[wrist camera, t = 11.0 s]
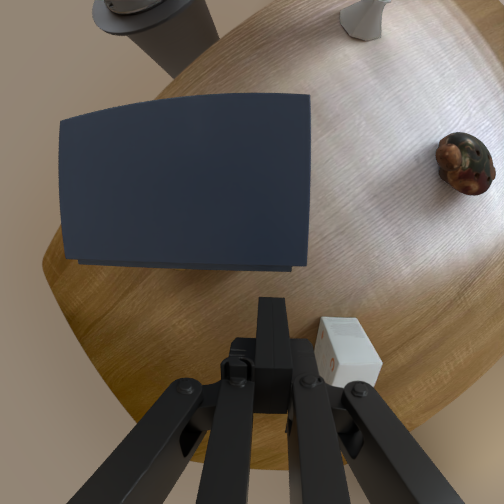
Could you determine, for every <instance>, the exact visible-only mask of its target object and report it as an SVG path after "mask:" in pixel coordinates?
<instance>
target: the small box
mask: <svg viewBox="0 0 504 504" xmlns="http://www.w3.org/2000/svg"><path fill="white" fill-rule="evenodd" d="M314 354H315V358H316V362H317V367H318V371H319V375H320V376H321V377H322V378H323V379H324V381H325V383H327V384H329V385H332V386H335V387H341V388H344V386H345V385H346V384H347V383H349V382H352V381H364V382H366V383H369V384H370V385H371V386H372V387H373V388H374V385H375V383H376V380H377V378H378V375H379V372H380V370H381V367H382V364H383V363H382V361H381V359H380V357H379V356H378V354H377V352H376V350H375V349H374V347H373V345H372V343H371V342H370V340H369V338H368V337H367V335H366V333H365V331H364V330H363V328H362V326H361V325H360V323H359V321H358V320H357V318H342V317H321V319H320V324H319V329H318V334H317V339H316V344H315V349H314Z"/></svg>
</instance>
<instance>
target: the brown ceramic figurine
mask: <svg viewBox="0 0 504 504" xmlns="http://www.w3.org/2000/svg"><path fill="white" fill-rule="evenodd" d="M436 160H437V163H438V165H439V166H440V170H439V176H440V178H441V179H442V180H443V181H445V182H446V183H448V184H449V185H450V186H452V187H453V188H454V189H455V190H457V191H459V192H460V193H463V194H466V195H480V194H482V193H484V192H486V191H487V190H488V188H489V187H490V185H491V183H492V180H494V179H495V176H496V171H495V168H494V166H493V161H492V157H491V155H490V153H489V151H488V149H487V148H486V146H485V145H484V144H483V143H482V142H481V141H480V140H479V139H477V138H476V137H474V136H472V135H470V134H467V133H462V132H456V133H452V134H449V135H447V136H446V137H444V138H443V139H441V140H440V142H439V148H438V149H437V150H436Z"/></svg>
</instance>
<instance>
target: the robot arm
mask: <svg viewBox="0 0 504 504" xmlns="http://www.w3.org/2000/svg"><path fill="white" fill-rule="evenodd" d="M104 1H105V4H106V6H107V7H108V8H109V9H110V10H111V11H112V12H113V13H115V14H117V15H121V16H132V15H137V14H141V13H144V12H146V11H149V10H151V9H153V8H155V7H157V6H159V5H160V4H162V3H164V2H165V1H166V0H104ZM220 365H221V380H220V381H218V382H216V383H214V384H209V385H201V383H200V382H199V381H197V380H195V379H193V378H180V379H177V380H175V381H174V382H172V383H171V384H170V386H169V387H168V388H167V389H166V390H165V391H164V393H163V394H162V395H161V396H160V397H159V399H158V400H157V401H156V402H155V403H154V405H153V406H152V407H151V408H150V409H149V410H148V412H147V413H146V414H145V415H144V416H143V417H142V419H141V420H140V421H139V422H138V423H137V425H136V426H135V427H134V428H133V429H132V430H131V431H130V433H129V434H128V435H127V436H126V437H125V438H124V440H123V441H122V442H121V443H120V444H119V445H118V446H117V448H116V449H115V450H114V451H113V452H112V453H111V455H110V456H109V457H108V458H107V459H106V460H105V461H104V462H103V464H102V465H101V466H100V467H99V468H98V469H97V470H96V471H95V473H94V474H93V475H92V476H91V477H90V478H89V479H88V480H87V482H86V483H85V484H84V485H83V486H82V487H81V488H80V489H79V491H77V493H76V494H75V495H74V496H73V497H72V498H71V499H70V500H69V501H68V503H67V504H163V502H164V501H165V499H166V498H167V496H168V494H169V493H170V491H171V490H172V488H173V487H174V485H175V484H176V482H177V480H178V479H179V477H180V475H181V474H182V472H183V471H184V469H185V467H186V466H187V464H188V462H189V461H190V459H191V458H192V456H193V454H194V453H195V451H196V449H197V448H198V446H199V444H200V443H201V441H202V439H203V438H204V436H205V434H206V432H207V430H211V432H210V436H209V441H208V446H207V451H206V456H205V460H204V465H203V470H202V475H201V480H200V485H199V490H198V495H197V500H196V504H247V502H248V487H249V472H250V459H251V444H252V428H253V413H266V414H287V409H288V418H287V424H286V430H285V433H287V438H288V460H289V487H290V504H351V503H350V497H349V492H348V487H347V481H346V476H345V471H344V466H343V461H342V456H341V452H342V454H343V455H344V457H345V459H346V461H347V463H348V464H349V466H350V468H351V470H352V471H353V473H354V475H355V477H356V479H357V481H358V483H359V484H360V486H361V488H362V490H363V491H364V493H365V495H366V497H367V499H368V500H369V502H370V504H465V503H464V502H463V500H462V499H461V498H460V496H459V495H458V494H457V493H456V491H455V490H454V489H453V487H452V486H451V485H450V484H449V482H448V481H447V480H446V478H445V477H444V476H443V475H442V473H441V472H440V471H439V470H438V468H437V467H436V466H435V464H434V463H433V462H432V461H431V459H430V458H429V457H428V455H427V454H426V453H425V452H424V450H423V449H422V448H421V447H420V445H419V444H418V443H417V442H416V440H415V439H414V438H413V436H412V435H411V434H410V433H409V431H408V430H407V429H406V428H405V426H404V425H403V424H402V423H401V421H400V420H399V419H398V418H397V416H396V415H395V414H394V413H393V411H392V410H391V409H390V408H389V406H388V405H387V404H386V403H385V401H384V400H383V399H382V398H381V396H380V395H379V394H378V393H377V391H376V390H375V389H374V388H373V387H372V386H371V385H370V384H369V383H366V382H364V381H352V382H349V383H347V384H346V385H345V386H344V388H341V387H335V386H332V385H329V384H327V383H325V381H324V379H323V378H322V377H321V376H320V375H319V371H318V367H317V362H316V358H315V354H314V350H313V345H312V343H311V342H310V341H309V340H308V339H291V338H290V337H289V329H288V321H287V313H286V306H285V298H273V297H259V302H258V318H257V332H256V338H239V337H237V338H236V339H235V340H234V341H233V342H232V343H231V347H230V352H229V357H228V358H226V359H224V360H223V361H222V363H221V364H220ZM340 450H341V451H340Z"/></svg>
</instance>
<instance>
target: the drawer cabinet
mask: <svg viewBox="0 0 504 504" xmlns="http://www.w3.org/2000/svg"><path fill="white" fill-rule="evenodd" d="M310 176H311V103H310V95H306V94H288V93H227V94H208V95H195V96H185V97H175V98H167V99H159V100H152V101H146V102H140V103H134V104H129V105H124V106H118V107H113V108H108V109H104V110H100V111H95V112H91V113H87V114H84V115H79V116H76V117H72V118H69V119H65V120H62V121H60V133H59V198H60V213H61V225H62V235H63V243H64V251H65V257H66V259H77V260H78V264H85V265H104V266H124V267H147V268H172V269H174V270H178V271H181V270H186V269H200V270H234V271H277V272H291V271H292V266H307V252H308V234H309V211H310Z"/></svg>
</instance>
